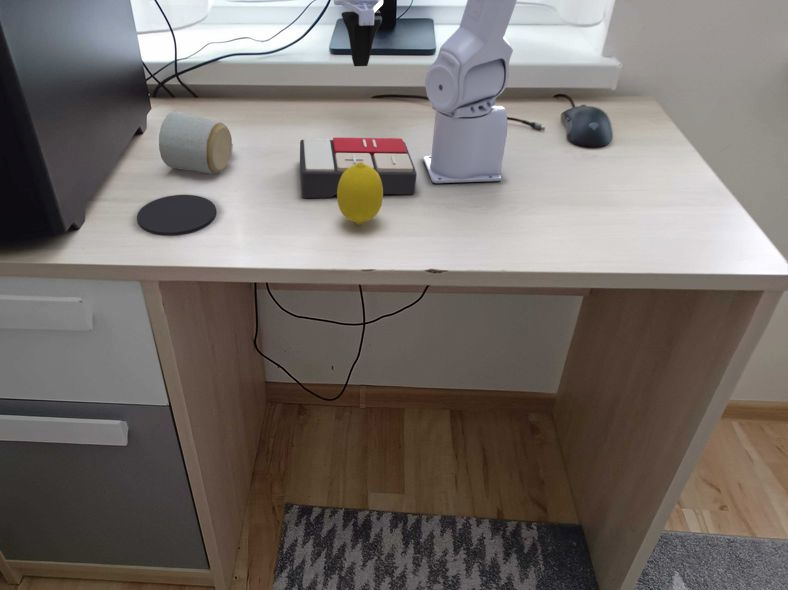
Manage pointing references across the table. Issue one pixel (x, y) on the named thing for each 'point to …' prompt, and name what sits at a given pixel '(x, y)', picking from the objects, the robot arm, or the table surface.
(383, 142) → the switch panel
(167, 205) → the felt coaster
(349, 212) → the lemon
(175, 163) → the ceramic mug
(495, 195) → the table surface
